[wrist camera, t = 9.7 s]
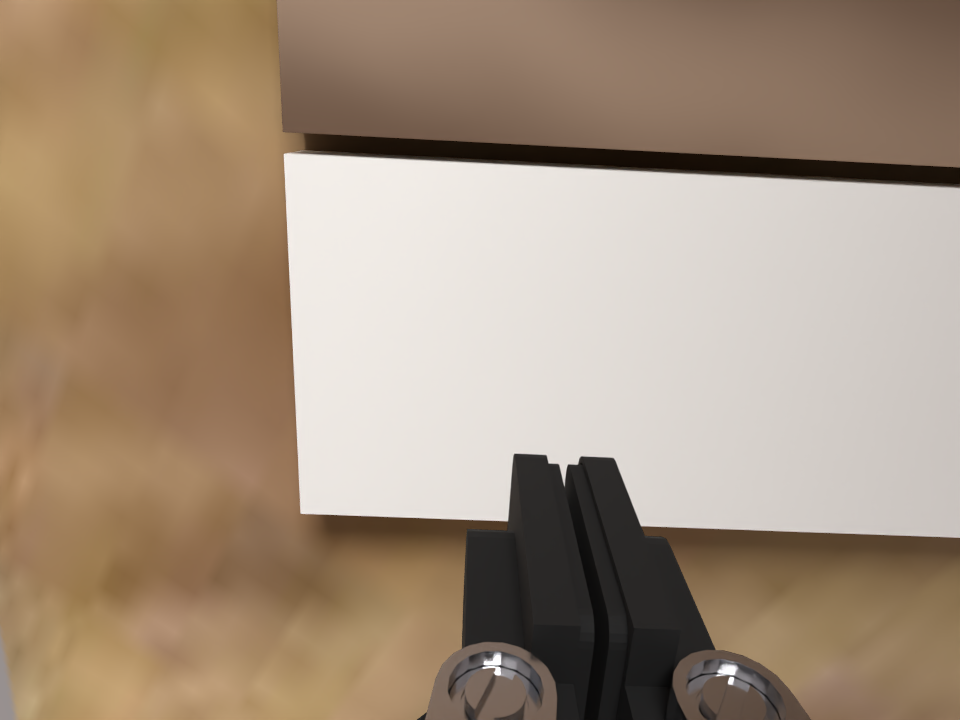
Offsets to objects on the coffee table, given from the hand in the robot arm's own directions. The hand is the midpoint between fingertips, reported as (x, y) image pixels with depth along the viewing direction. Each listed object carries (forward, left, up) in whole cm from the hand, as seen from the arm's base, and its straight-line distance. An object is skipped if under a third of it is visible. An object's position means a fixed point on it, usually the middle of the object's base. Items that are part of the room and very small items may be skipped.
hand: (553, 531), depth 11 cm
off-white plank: (-1, +6, -9) cm, 11 cm away
